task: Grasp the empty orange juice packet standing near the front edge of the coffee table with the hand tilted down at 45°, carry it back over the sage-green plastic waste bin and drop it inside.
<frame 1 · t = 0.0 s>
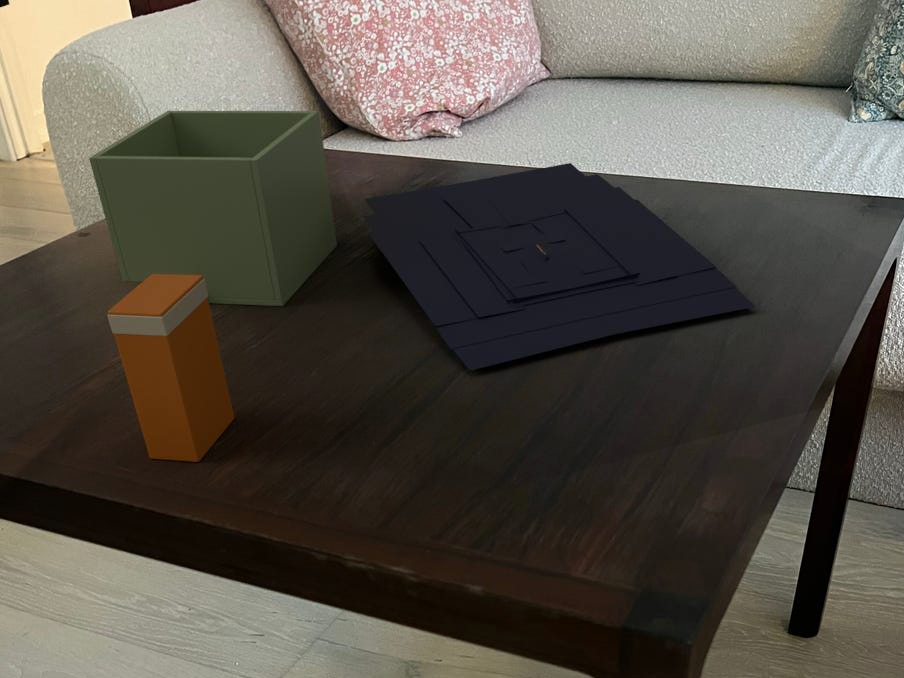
papers: (536, 279, 89), on the table
bin: (236, 271, 94), on the table
packet: (193, 438, 70), on the table
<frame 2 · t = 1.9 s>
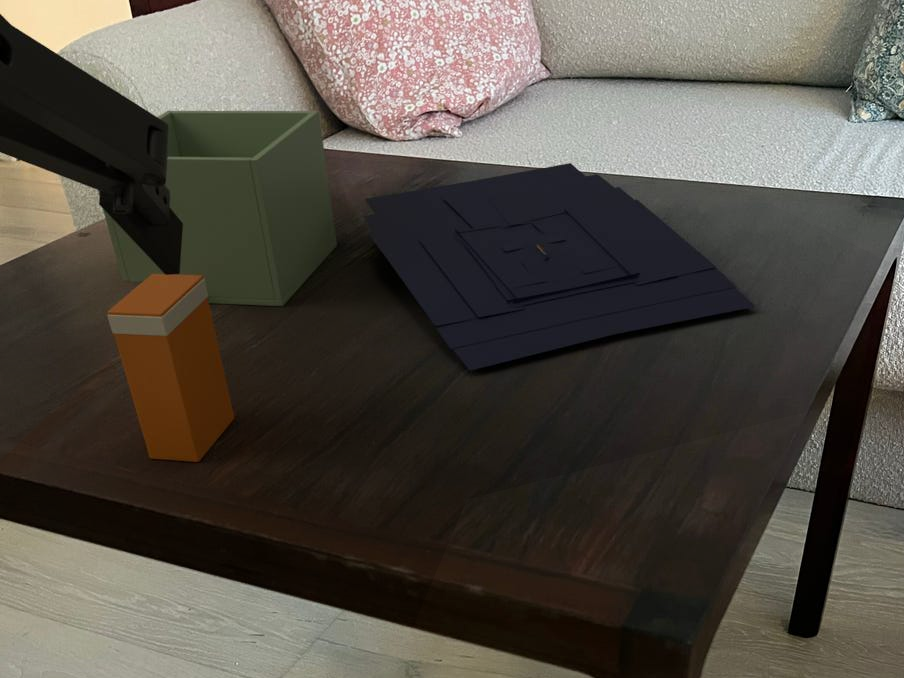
hand: (49, 257, 54), 15 cm above the table, tool tilted 40°, fingers open, 13 cm apart
nothing on the table moved.
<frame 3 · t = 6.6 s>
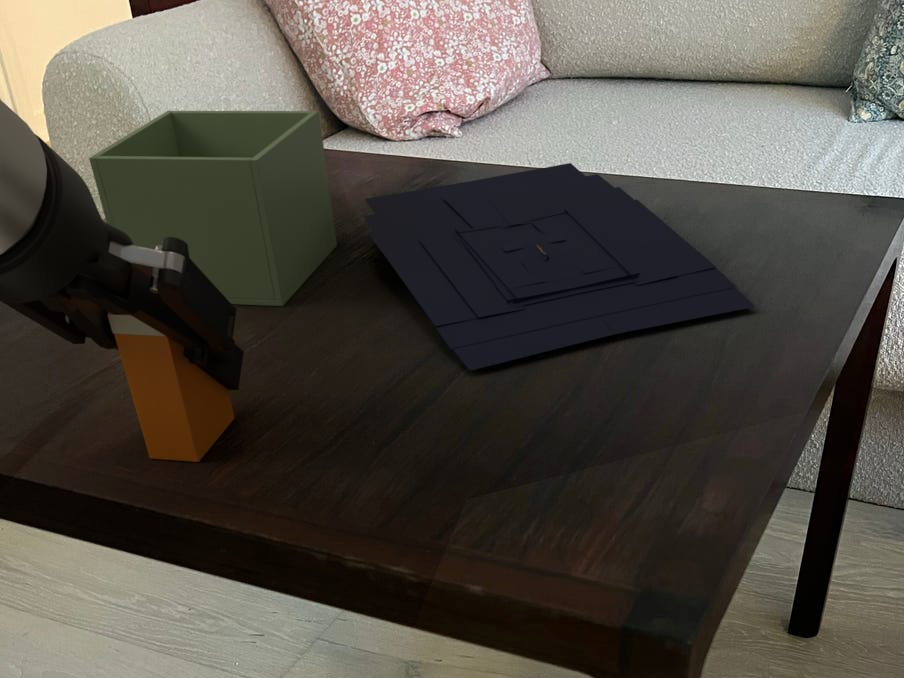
hand: (206, 368, 71), 3 cm above the table, tool tilted 45°, fingers closed on packet, 4 cm apart
packet: (193, 438, 70), on the table, touching gripper
everything else where it was.
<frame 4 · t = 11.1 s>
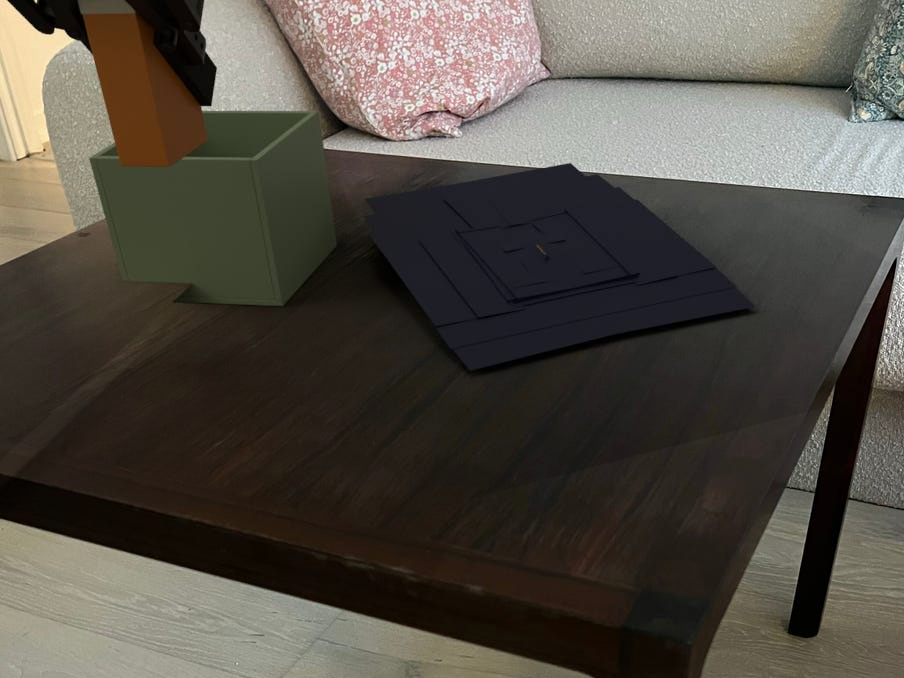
hand: (179, 86, 71), 18 cm above the table, tool tilted 45°, fingers closed on packet, 4 cm apart
packet: (165, 153, 70), point 15 cm above the table, touching gripper
everything else where it was.
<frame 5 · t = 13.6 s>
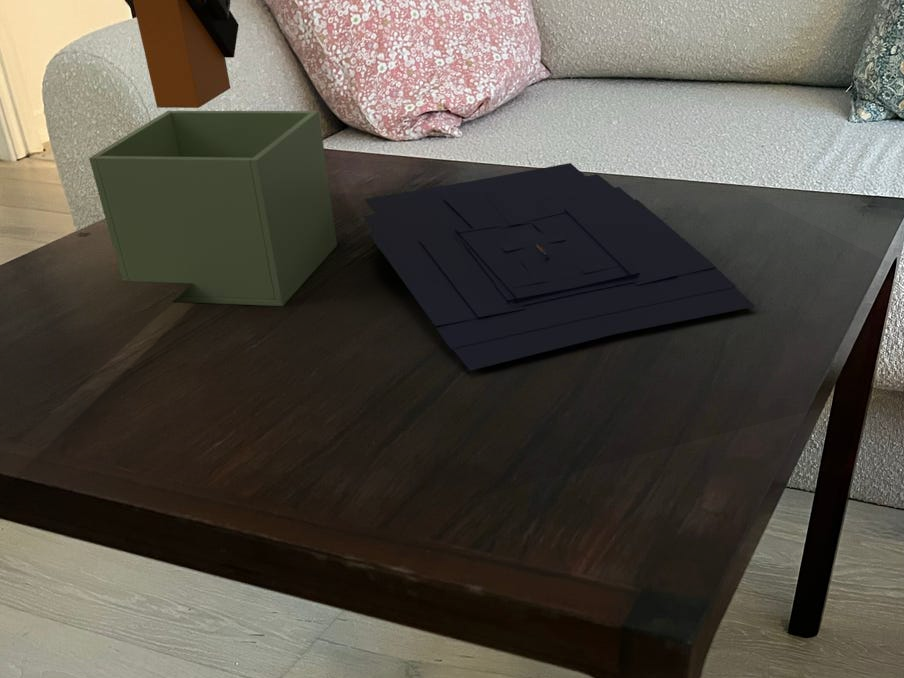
hand: (206, 40, 82), 18 cm above the table, tool tilted 45°, fingers closed on packet, 4 cm apart
packet: (194, 97, 81), point 15 cm above the table, touching gripper
everything else where it was.
when the fingers open (14 cm above the table, at t = 15.7 s): packet drops 11 cm, resting on bin.
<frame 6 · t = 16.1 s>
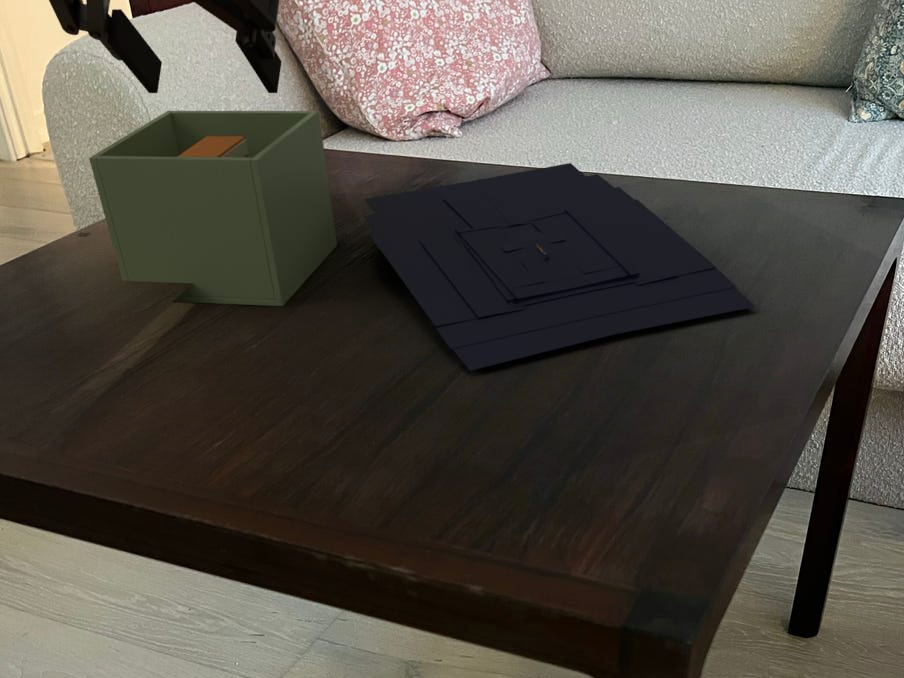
hand: (214, 77, 86), 15 cm above the table, tool tilted 45°, fingers open, 10 cm apart
packet: (235, 266, 93), resting on bin
everything else where it was.
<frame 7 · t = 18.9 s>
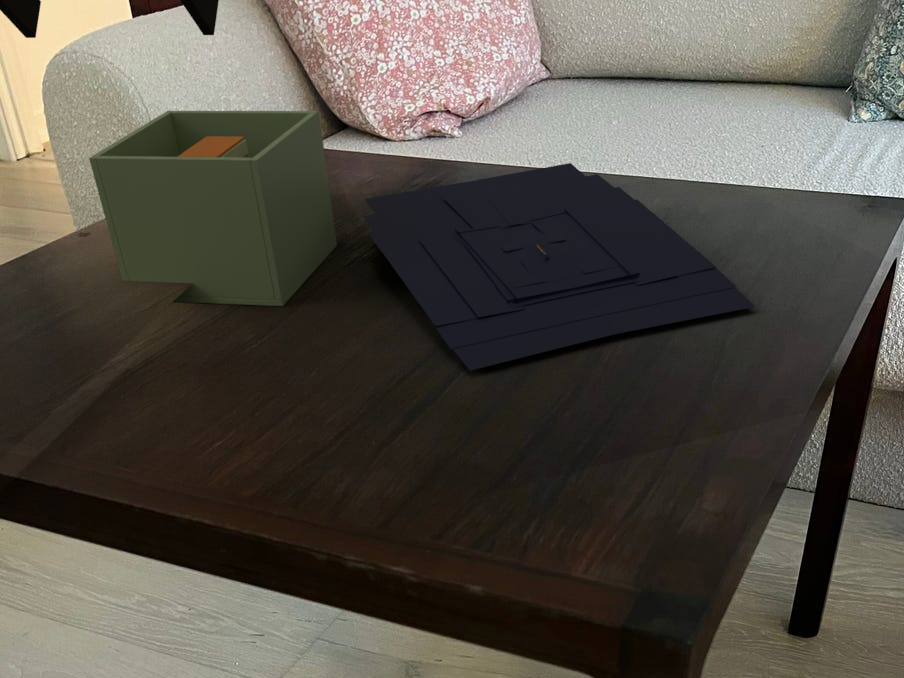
hand: (121, 18, 73), 21 cm above the table, tool tilted 45°, fingers open, 13 cm apart
nothing on the table moved.
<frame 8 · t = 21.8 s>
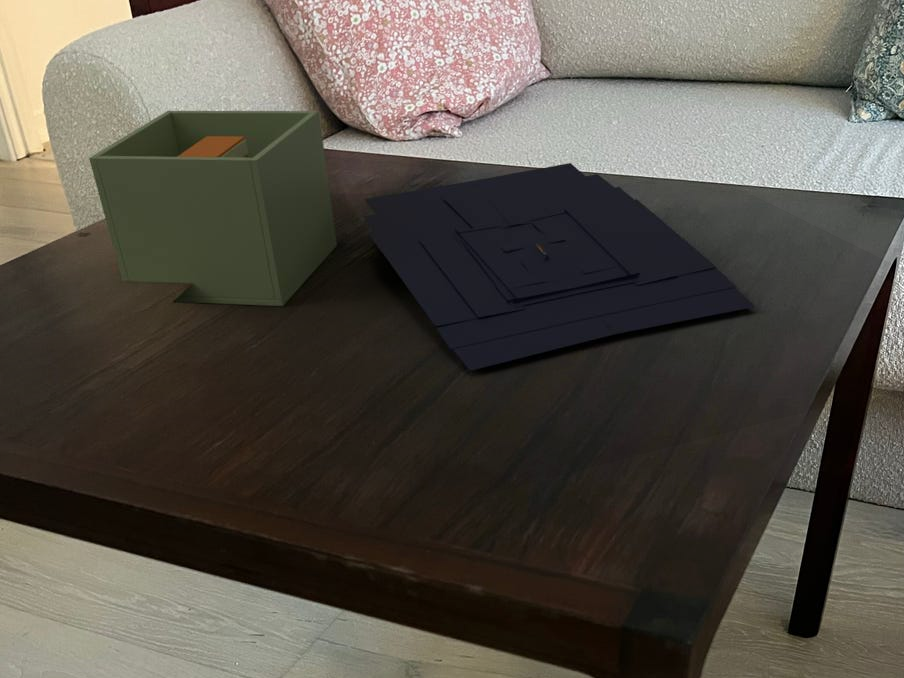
nothing on the table moved.
at the end: packet inside the target area in the bin (0.0 cm from its centre), point 0.5 cm above the bin's base; the gripper is holding nothing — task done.
